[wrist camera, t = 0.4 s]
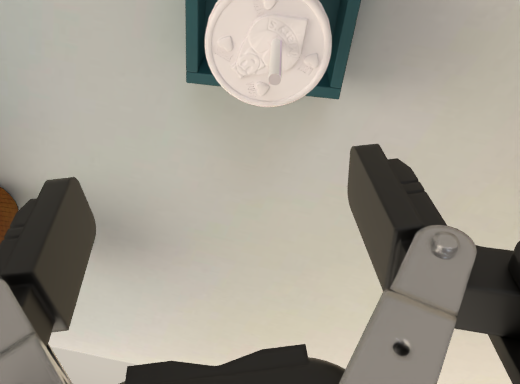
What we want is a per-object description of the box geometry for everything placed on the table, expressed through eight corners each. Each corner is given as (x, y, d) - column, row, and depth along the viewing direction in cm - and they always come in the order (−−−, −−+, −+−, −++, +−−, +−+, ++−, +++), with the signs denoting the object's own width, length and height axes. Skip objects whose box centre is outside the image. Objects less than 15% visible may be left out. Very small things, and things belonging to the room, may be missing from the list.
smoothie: (339, 8, 29) (371, 102, 18) (263, 63, 32) (251, 175, 21) (283, -81, 26) (280, -34, 15) (205, -12, 29) (154, 72, 18)
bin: (195, -108, 26) (184, -103, 23) (368, -87, 26) (379, -80, 23) (195, 62, 33) (186, 82, 30) (334, 77, 33) (338, 99, 30)
